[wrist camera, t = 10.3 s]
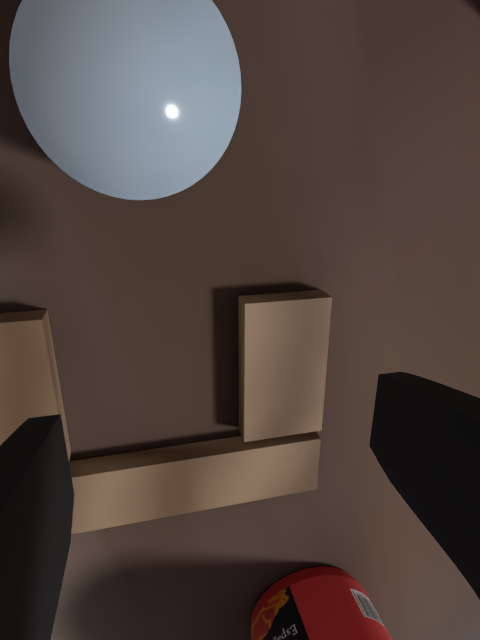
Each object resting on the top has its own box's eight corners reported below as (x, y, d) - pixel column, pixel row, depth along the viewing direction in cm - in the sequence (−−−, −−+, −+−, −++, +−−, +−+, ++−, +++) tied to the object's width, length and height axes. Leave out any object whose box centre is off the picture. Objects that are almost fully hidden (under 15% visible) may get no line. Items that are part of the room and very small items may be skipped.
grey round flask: (208, 187, 17) (241, 198, 12) (61, 188, 16) (30, 202, 11) (202, -97, 14) (243, -237, 9) (18, -123, 13) (-51, -302, 8)
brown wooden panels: (-8, 529, 20) (-16, 550, 19) (-64, 317, 16) (-78, 328, 15) (308, 474, 24) (316, 489, 23) (321, 289, 20) (332, 297, 19)
